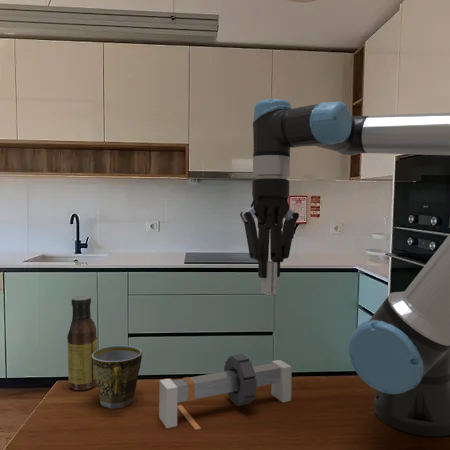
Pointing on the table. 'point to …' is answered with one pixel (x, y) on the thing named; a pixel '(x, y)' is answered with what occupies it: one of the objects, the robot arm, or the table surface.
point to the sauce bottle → (81, 345)
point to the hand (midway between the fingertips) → (268, 293)
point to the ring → (242, 379)
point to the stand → (170, 413)
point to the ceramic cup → (117, 374)
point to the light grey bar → (223, 382)
